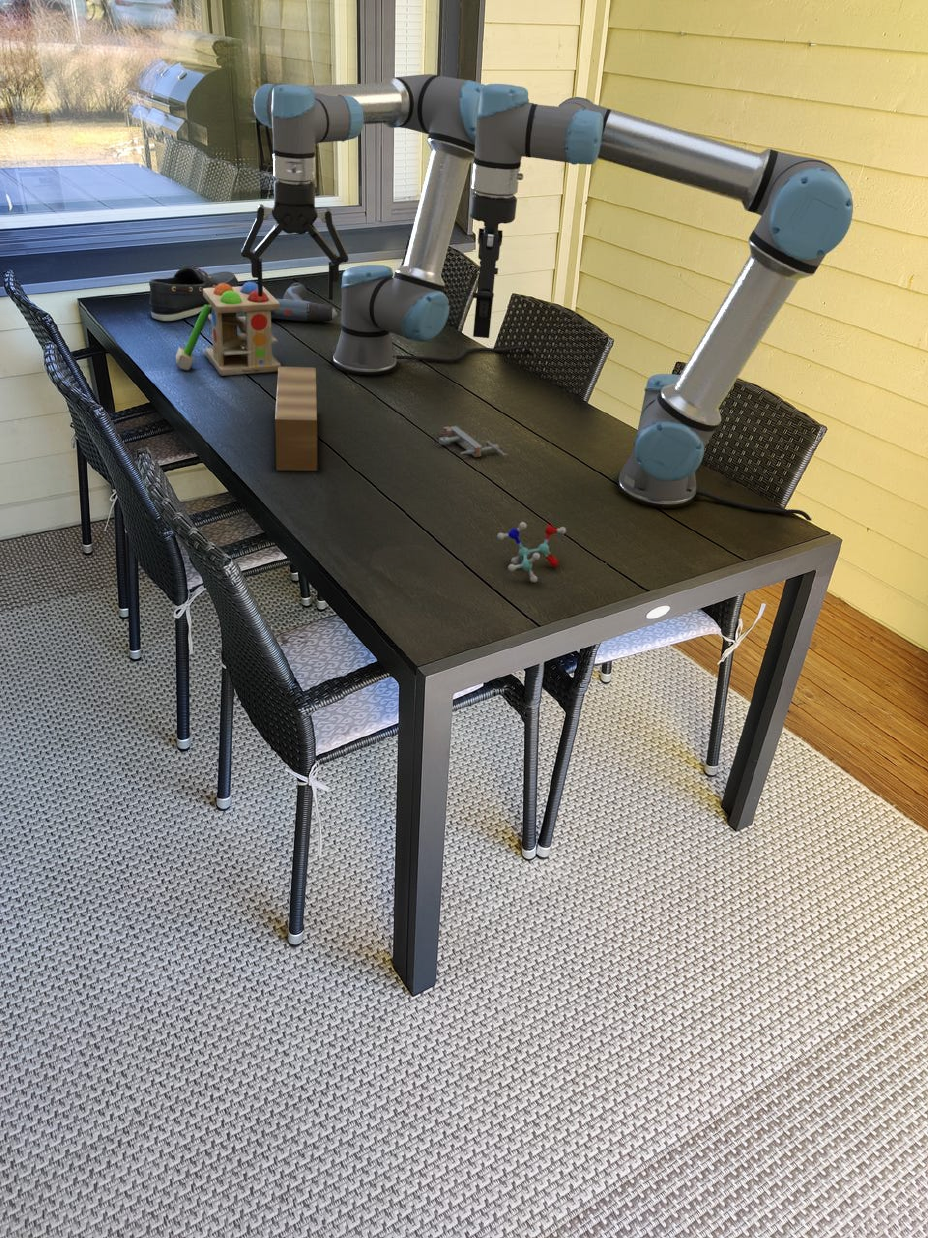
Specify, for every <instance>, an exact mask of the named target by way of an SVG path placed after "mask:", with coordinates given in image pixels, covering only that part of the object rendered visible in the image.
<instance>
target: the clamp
mask: <svg viewBox="0 0 928 1238" xmlns="http://www.w3.org/2000/svg"><path fill="white" fill-rule="evenodd" d="M438 443H439V444H440V445H441V446H444V445H450V444H451V443H457V444H458V445H459V446H460V447H462V449H464V451H460V455H471V456H473V457H474V458H478V457H479V458H480V457H482V455H483V454H482V453H484V452H490V451H491V452H498V453H499V454H500V455H501V456H503V459H508V453H507V452H506V453H504V452H503V451H502V450H501V449H500V445H499V444H493V443H491V441H490V440H487V441H485V445H486V447H483V446H482V445H481V444H480V443H479V442H477V441H476V439H473V438H472V437H471V436H470V435H468V434H467V433H465V431H463V430H462V429H461V428H460V427H459V426H458V425H453V426H443V428H442V437H439V438H438Z"/></svg>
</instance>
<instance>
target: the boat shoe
mask: <svg viewBox="0 0 928 1238" xmlns="http://www.w3.org/2000/svg"><path fill="white" fill-rule="evenodd" d="M221 283H226V284H228V285H230V286H231V287H240V285H239V280H238V278H237V277H236V275H235V274H234V273H233V272H231V271H220V272H213V273H210V274H208V273H207V272H206V271H205V270H204V269H202V268H199V267H195V266H191V265H186V266H185V265H184V266H183V267H181V268H179V269H178V270H177V271H176V272H175V273H174V274H173V277H172V276H171V277H167V278H166V277H165V278H152V279H150V280H149V281H148V285H149V291H150V292H149V302H148V306H151V309H150V313H151V317H152V318H153V319H155V320H157V321H162V322H171V321H172V322H173V321H178V320H182V319H184V318H188V317H192V316H196V315H197V314H200V313H201V311H202V309H203V307H204V305H208V306H210V307H211V305H210V304H209V302H208V301H207V300H206V299H205V297H204V296H203V289H204V288H215V287H216V286H217V285H218V284H221Z"/></svg>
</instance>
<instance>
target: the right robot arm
mask: <svg viewBox="0 0 928 1238" xmlns="http://www.w3.org/2000/svg"><path fill="white" fill-rule="evenodd" d="M485 85H486V86H484V87H483V88H482V90H481V93H480V100H479V108H478V115H477V117H476V119H477V124H476V140H475V155H474V160H473V161H472V173H471V186H470V188H471V189H472V190H473V192H472V193H471V194H470V200H469V201H470V202H469V212H468V213H469V217H470V218H471V219H473V220H475V221H477V222H483V228H480V227H479V228H478V237H477V244H478V254H477V258H478V260H480V261H479V268H478V271H479V273H478V278H477V290H476V292H472V298H473V299H476V300H475V308H474V322H473V330H472V332H473V334H472V337H473V338H483V339H490V333H491V322H492V313H493V302H494V301H493V300H494V298H495V297H494V296H495V294H494V285H495V275H498V274H499V268H498V267H496V264H497V262H498V261H499V260H500V251H501V246H502V243H503V230H501V229H499V225H500V224H510V223H512V222H514V221H515V220H516V213H517V206H518V205H517V203H518V198H517V197H516V196H515V195H516V194H517V193H518V191H519V190H518V189H519V181H522V180H523V179H524V173H521V167H522V158H523V157H524V158H531V159H532V158H534V159H540V160H546V161H553V162H554V161H555V162H561V163H568V164H571V165H574V166H576V165H587V166H588V165H589V166H591V165H593V164H595V163H596V162H597V160H598V159H600V160H603V161H606V162H609V163H613V164H615V165H620V166H623V167H625V168H629V169H632V170H636V171H638V172H642V173H646V174H648V175H651V176H652V175H653V176H655V177H659V178H662V179H665V180H667V181H668V180H669V181H672V182H675V183H678V184H681V185H684V186H687V187H691V188H694V189H698V190H701V191H704V192H708V193H710V194H714V195H717V196H720V197H724V198H727V199H730V200H733V201H736V202H740V203H741V204H742V206H743V208H744V211H747V212H750V213H753V214H756V215H759V216H760V218H759V219H758V221H757V223H756V225H755V226H754V228H753V230H752V232H751V233H750V235H749V237H748V239H747V240H748V246H749V250H750V254H749V256H748V258H747V260H746V261H745V263H744V265H743V266H742V268H741V270H740V271H739V273H738V275H737V277H736V278H735V280H734V281H733V284H732V285H731V287H730V289H729V290H728V292H727V294H726V295H725V297H724V299H723V301H722V303H721V304H720V306H719V308H718V309H717V311H716V312H715V314H714V316H713V317H712V319H711V321H710V323H709V324H708V326H707V328H706V330H705V332H704V333H703V335H702V336H701V338H700V340H699V342H698V344H697V345H696V347H695V349H694V351H693V352H692V354H691V355H690V357H689V359H688V360H687V362H686V364H685V365H684V368H683V369H682V371H681V372H680V374H673V373H657V374H654V375H651V376H650V377H649V378H648V380H647V382H646V386H645V388H644V396H643V401H642V405H641V410H640V416H639V421H638V427H637V431H636V437H635V439H634V443H633V450H632V452H631V454H630V455H629V457H628V459H627V460H626V461H625V462H626V463H624V466H623V468H622V469H621V472H620V473H619V476H618V481H617V488H618V490H619V492H620V493H621V494H622V495H623V496H624V497H626V498H628V499H629V500H631V501H633V502H635V503H637V504H640V505H644V506H648V507H652V508H658V509H677V508H682V507H686V506H688V505H690V504H692V503H693V502H694V501H695V498H696V495H699V496H701V497H706V498H708V499H711V500H713V501H716V502H719V503H722V504H726V505H730V506H734V507H738V508H742V509H746V510H753V511H760V512H770V513H777V514H784V515H785V514H787V515H789V514H790V513H791V514H793V515H794V514H795V515H800V516H802V517H804V519H805V520H806V521H808V522H811V521H813V520H812V519H813V518H811V516H810V515H809V514H808V513H807V512H805V511H803V510H800V509H795V508H794V509H792V508H791V509H789V508H787V509H786V508H776V507H768V506H761V505H759V506H758V505H753V504H747V503H743V502H738V501H734V500H731V499H726V498H723V497H720V496H718V495H714V494H712V493H709V492H706V491H703V490H699V489H697V477H696V471H697V470H698V469H699V467H700V466H701V463H702V461H703V458H704V456H705V455H704V454H705V448H706V446H707V444H708V442H709V441H710V440H711V438H712V437H713V435H714V434H715V432H716V430H717V428H718V427H719V425H720V423H721V422H722V416H721V411H720V407H721V405H722V404H723V402H724V401H725V399H726V398H727V396H728V394H729V392H730V391H731V390H732V388H733V387H734V384H735V383H736V381H737V380H738V378H739V376H740V375H741V373H742V372H743V370H744V368H745V367H746V366H747V364H748V362H749V360H750V359H751V357H752V356H753V354H754V353H755V350H756V349H757V348H758V346H759V345H760V342H761V341H762V340H763V338H764V336H765V335H766V333H767V331H769V328H770V327H771V325H772V324H773V322H774V320H775V319H776V317H777V316H778V314H779V312H780V311H781V309H782V307H783V306H784V305H785V303H786V301H787V299H788V298H789V296H790V295H791V293H792V292H793V290H794V288H795V287H796V285H797V284H798V283H799V281H801V280H802V279H806V278H809V277H812V276H814V275H815V273H816V271H817V270H818V268H819V266H820V265H821V264H822V262H823V260H824V259H825V257H826V255H827V254H830V252H832V251H833V250H834V249H836V248H837V247H838V245H839V244H841V242H842V241H843V240H844V238H845V237H846V235H847V234H848V232H849V229H850V226H851V225H852V220H853V214H854V200H853V195H852V192H851V190H850V188H849V186H848V184H847V182H846V181H845V180H844V179H843V177H842V176H841V175H840V173H839V172H838V171H837V170H836V168H835V167H834V166H833V165H832V164H830V163H829V162H826V161H824V160H822V159H818V158H815V157H814V158H813V157H807V156H802V155H796V154H792V153H787V152H783V151H778V150H775V149H772V148H766V149H764V150H763V151H761V152H756V151H753V150H749V149H746V148H744V147H740V146H736V145H732V144H730V143H726V142H722V141H720V140H716V139H712V138H710V137H706V136H702V135H699V134H696V133H692V132H690V131H686V130H684V129H683V130H682V129H679V128H676V127H673V126H669V125H666V124H663V123H659V122H656V121H652V120H650V119H645V118H643V117H639V116H636V115H633V114H629V113H625V112H623V111H619V110H615V109H613V108H612V109H610V108H608V107H605V106H602V105H598V104H595V103H594V102H593V101H591V100H589V99H588V98H585V97H580V96H575V97H569V98H566V99H565V100H564V101H562V102H561V103H559V104H558V106H557V105H546V104H538V103H533V102H531V101H530V99H529V90H528V89H527V88H526V87H523V86H519V85H515V84H505V83H489V84H485ZM791 514H790V515H791Z"/></svg>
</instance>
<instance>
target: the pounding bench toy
mask: <svg viewBox="0 0 928 1238" xmlns="http://www.w3.org/2000/svg"><path fill="white" fill-rule="evenodd" d="M203 296H204V297H205V299H206V300H207V301H208V302H209V304H210V305H211V307H210V306H208V305H204V307H203V309H202V311H201V312H200V313H199V316H198V318H197V320H196V322H195V324H194V327H193V329H192V331H191V332H190V333H191V334H190V336H189V338H188V340H187V343H186V344H185V347H184V348H182V347H180V346H179V347H178V349H177V351H176V354H175V357H174V358H175V362H176V365H177V366H178V368H179V369H182V370H185V371H189V370H190V369H191V367H192V365H193V363H194V356H193V351H194V348H195V347H196V345H197V342H198V340H199V337H200V336H201V333H202V332H203V329H204V326H205V325H206V322H207V320H209V321H210V322H211V336H212V337H211V338H212V339H211V340H212V348H205V349H204V352H205V353H204V355H205V357H206V359H208V361H209V363H210V364H211V365H212V366H213V367H214V369H215V370H216V371H217V372H218V374H219V375H220V376H222V377H223V376H234V375H235V376H236V375H246V374H247V375H250V374H262V373H275V372H278V367H279V366H280V367H282V364H281V363H280V362H279V360H278V359H277V358H276V357H275V356H274V355H273V348H272V347H273V345H272V344H276V343H278V342H279V341H278V339H277V338H276V337H275V336H274V334H272V318H271V310H280V303H279V302H278V301H277V300H276V299H277V298H276V297H274V296H273V295H272V294H271V293H270V292H269V290H268V289H267V288H266V287H264V286H263V295H262V297H260V296H258V283H256V282H255V281H247V282H245V283H244V284H243V285H242V286H239V287H231V286H230V285H228V284H226V283H221V284H218V285H217V286H216V287H215V288H204V289H203ZM238 313H244V314H245V315H244V316H238ZM238 329H239V331H240V333H239V334H238Z"/></svg>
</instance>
